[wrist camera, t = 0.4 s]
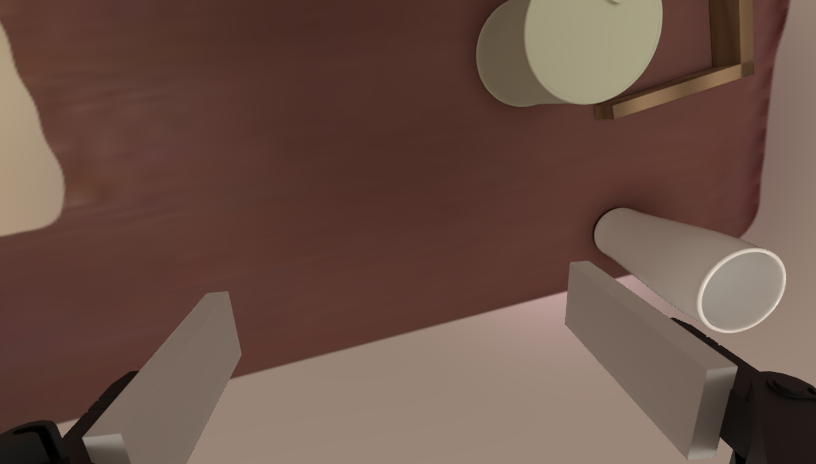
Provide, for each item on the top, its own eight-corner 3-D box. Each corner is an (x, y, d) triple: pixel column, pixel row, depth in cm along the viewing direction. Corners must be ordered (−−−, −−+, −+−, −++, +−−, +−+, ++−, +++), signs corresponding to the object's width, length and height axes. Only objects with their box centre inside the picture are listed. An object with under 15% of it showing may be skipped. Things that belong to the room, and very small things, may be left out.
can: (592, 24, 36) (697, -17, 24) (545, 122, 38) (621, 127, 26) (503, -24, 34) (572, -92, 22) (459, 82, 36) (501, 69, 25)
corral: (595, 118, 38) (614, 119, 35) (569, -62, 33) (588, -79, 30) (725, 76, 38) (754, 73, 35) (717, -111, 33) (749, -131, 30)
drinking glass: (572, 228, 41) (681, 290, 27) (626, 186, 40) (766, 227, 26) (604, 272, 43) (721, 351, 29) (656, 233, 42) (802, 295, 28)
